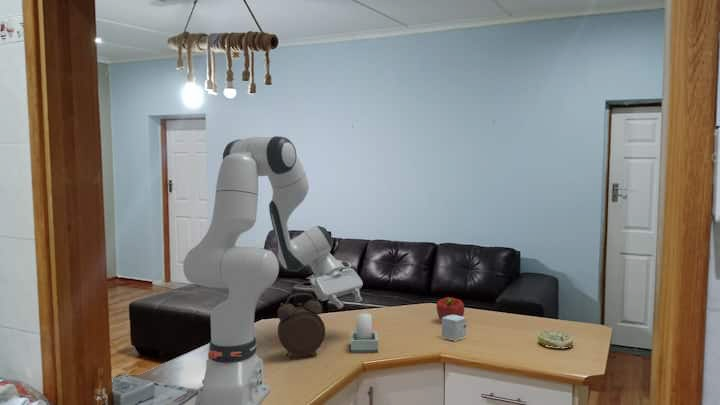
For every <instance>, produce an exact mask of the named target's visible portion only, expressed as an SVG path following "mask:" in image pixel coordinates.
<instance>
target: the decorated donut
mask: <svg viewBox="0 0 720 405" xmlns="http://www.w3.org/2000/svg"><path fill="white" fill-rule="evenodd" d="M537 339H538V342H539V343H540V342H541V343H542V344H544V345H548V346H553V347H560V348H562V347H569V346H571V345H572V344H574V343H573V341H574V338H573V337H572V336H570V335H569V334H568V333H564V332H560V331H557V330H545V331H542V332H539V334H538V335H537ZM541 343H540V344H541ZM572 346H573V345H572Z"/></svg>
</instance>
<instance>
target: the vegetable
mask: <svg viewBox="0 0 720 405" xmlns="http://www.w3.org/2000/svg"><path fill="white" fill-rule="evenodd" d="M436 313H437V316H438V319H439V320H440V321H441V322H442V317H445V316H448V315H452V314H454V315H458V316H462V317H464V315H465V305H464V302H463V301H462V300H460V299H459V298H455V297H450V296H446V297H444V298H440V299H439V300H438V301H437V303H436Z"/></svg>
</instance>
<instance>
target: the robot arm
mask: <svg viewBox="0 0 720 405" xmlns="http://www.w3.org/2000/svg"><path fill="white" fill-rule="evenodd" d="M266 176H267V178H268V180H269V182H270V185H271V189H272V197H271V200H270V202H269V204H268V209H269V216H270V220H271V225H272V230H273V233H274V237H275V242H276V247H277V248H276V249H277V255H278V258H277V256H276V255H275V253H274V252H273V251H272V250H269V249H266V248H262V247H257V246H237V245H236V243H237V240H238V238H240V236H242V234H243V233H246V232H248V231H249V230H251V229H252V228H253V227H254V225H255V224H256V221H257V212H258V196H259V177H266ZM309 186H310V185H309V180H308V177H307V175H306V172H305V170H304V167H303V164H302V163H301V160H300V158H299V157H298V155H297V150H296V147H295V145H294V143H293V142H292V141H291V140H290V139H289V138H287V137H284V136H275V135H274V136H272V137H270V136H262V137H261V136H253V137H248V138H243V139H241V138H239V139H235V140H233V141H231V142H229V143H228V144H226V145H225V148H224V150H223V153H222V161H221V164H220V167H219V172H218V175H217V179H216V187H215V197H214V205H213V212H212V213H213V214H212V218H211V221H210V225H209V228H208V229H207V232H206V234H205V235H204V236H203V238H202V239H201V240H200V242H199V243H198V244H196V245H195V246H194V247H193V248H191V249H189V251H188V252H187V253H186V255H185V257H184V260H183V266H182V267H183V268H182V269H183V274H184V277H185V278H186V279H187V281H188V282H189V283H190V284H194V285H197V286H201V287H204V288H205V287H206V288H219V289H228V297H227V299H226V300H224V301H222V302H221V303H219V304H217V305H216V306H215V307H214V308H213V309H212V312H211V314H210V337H211V338H210V339H211V340H210V341H209V347H208V353H207V354H208V355H207V356H208V359H206V366H205V372H204V378H203V379H202V382H201V383H202V386H201V387H199V388H198V391H197V396H196V399H195V403H194V405H260V404H261V402H262V401H263V400H264V399H265V398H266V397H267V395H268V394H269V392H270V391H271V387H270V385H267V384H266V383H265V382H264V381H265V380H264V369H263V368H264V367H263V360H262V358H260V356H259V355H258V354H257V346H258V345H257V338H256V336H255V313H256V308H257V304H258V301H259V299H260V297H261V296H262V294H263V293H264V292H265V291H266V290H267V289H268V288H270V287H271V286H272V285H273V284H274V283H275V281H276V280H277V278H278V275H279V271H280V265H279V262H280V263H281V265H282V267H283V268H284V269H285V270H286V271H289V272H295V273H296V272H299V271H300V270H302V269H303V268H304V267H305V266H307V265H309V266H310V267H311V271H312V272H313V275H311V276H309V279H308V281H309V283H310V284H311V287H312V289H313V292H314V294H315V295H316V298H318V301H321V302H323V301H327V300H329V302H330V303H332V304H333V305H335V306H336V307H337V309H342V308H344V306H345V304H344V302H343V301H342V300H339V299H338V297H341V296H344V295H348V294H352V295H354V297H355V298H354V301H355V302H356V303H361V302H362V300H363V298H362V297H361V294H360V293H361V292H360V290H361V288H362V287H363V284H364V283H363V280H362V278H361V277H360V276H359V275H358V273H357V271H355V269H353V268H351V267H352V264H351V263H350V262H348V261H344V260H340V259H336V257H335V256H334V255H332V254H331V251H332V249H333V246H334V239H333V237H332V236H331V234H330V232H328V230H327V228H326V227H324V226H320V225H316V226H313V227H311V228H310V229H308V230H304V231H303V232H301V233H300V234H299V235H297V236H295V237H294V238H292V239H291V237H290V232H289V228H288V220H289V219H290V216H291V215H292V214H293V212H294V211H295V210H296V209H297V208H298V207H299V205H301V204H302V202H303V201H304V200H305V199H306V197H307V195H308V191H309ZM278 259H279V261H278Z"/></svg>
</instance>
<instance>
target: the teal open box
mask: <svg viewBox="0 0 720 405" xmlns="http://www.w3.org/2000/svg"><path fill="white" fill-rule="evenodd" d="M350 353H351V354H373V353H374V354H377V353H379V339H378V332H377V331H372V340H357V335H356V331H351V332H350Z"/></svg>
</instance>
